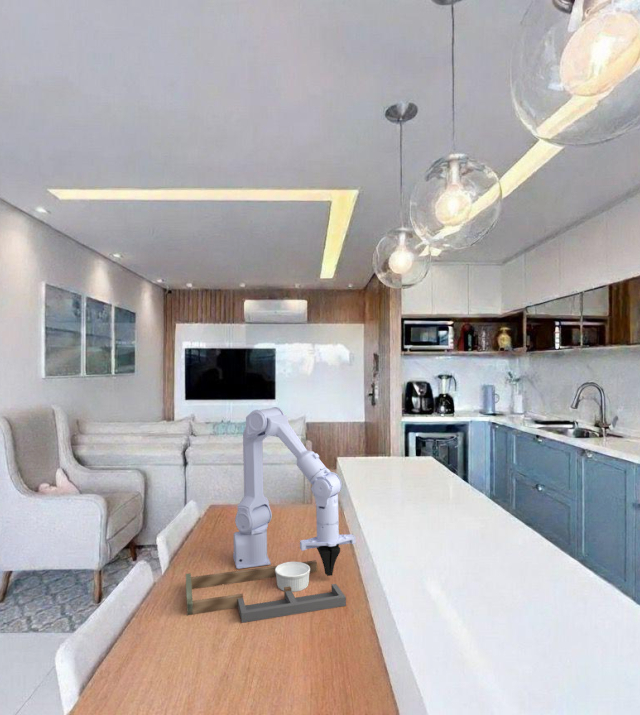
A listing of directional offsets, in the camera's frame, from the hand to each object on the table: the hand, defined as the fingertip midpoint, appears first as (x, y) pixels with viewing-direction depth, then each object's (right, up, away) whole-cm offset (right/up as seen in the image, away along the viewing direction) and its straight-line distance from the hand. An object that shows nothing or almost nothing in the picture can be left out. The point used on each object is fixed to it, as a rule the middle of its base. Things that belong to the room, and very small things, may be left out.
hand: (328, 574), depth 128 cm
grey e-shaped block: (-9, -1, -14) cm, 17 cm away
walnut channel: (-18, -2, -5) cm, 19 cm away
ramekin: (-9, -2, -3) cm, 10 cm away
